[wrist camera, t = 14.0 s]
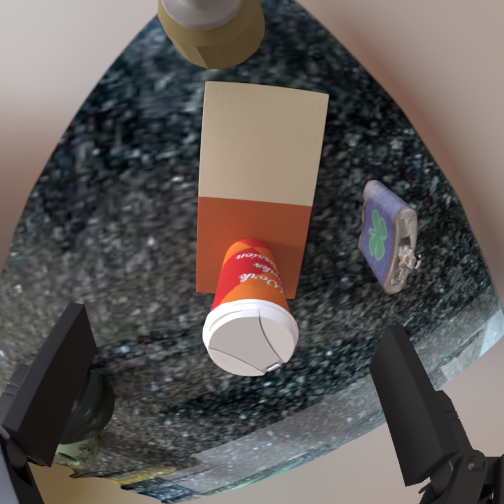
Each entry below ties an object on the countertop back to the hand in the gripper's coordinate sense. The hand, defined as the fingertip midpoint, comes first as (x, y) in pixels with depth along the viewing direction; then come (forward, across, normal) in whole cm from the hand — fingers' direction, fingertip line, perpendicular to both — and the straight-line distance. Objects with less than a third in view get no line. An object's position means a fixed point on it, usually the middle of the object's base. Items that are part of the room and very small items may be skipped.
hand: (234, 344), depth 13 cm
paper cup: (+22, +1, -9) cm, 24 cm away
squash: (+22, -26, -34) cm, 48 cm away
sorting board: (+23, +2, -2) cm, 23 cm away
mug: (+22, -36, -57) cm, 71 cm away
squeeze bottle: (+23, -3, +15) cm, 28 cm away
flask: (+23, +15, -2) cm, 27 cm away
